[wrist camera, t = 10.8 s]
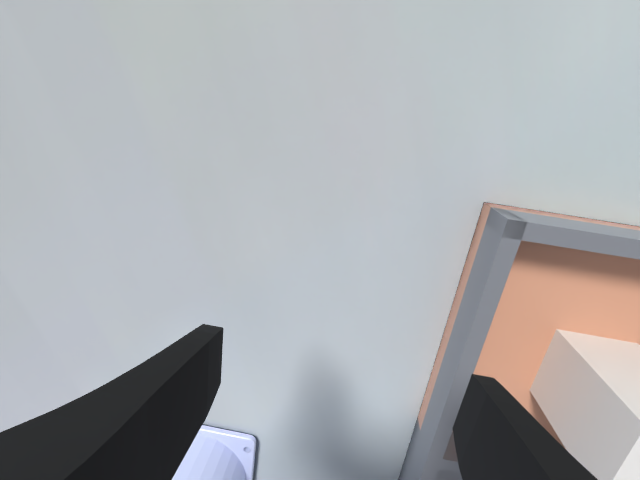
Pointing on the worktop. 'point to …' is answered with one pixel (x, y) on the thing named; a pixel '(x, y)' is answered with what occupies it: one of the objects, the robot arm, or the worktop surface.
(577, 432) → the white rectangular block
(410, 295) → the worktop surface
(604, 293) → the tray
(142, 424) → the robot arm
